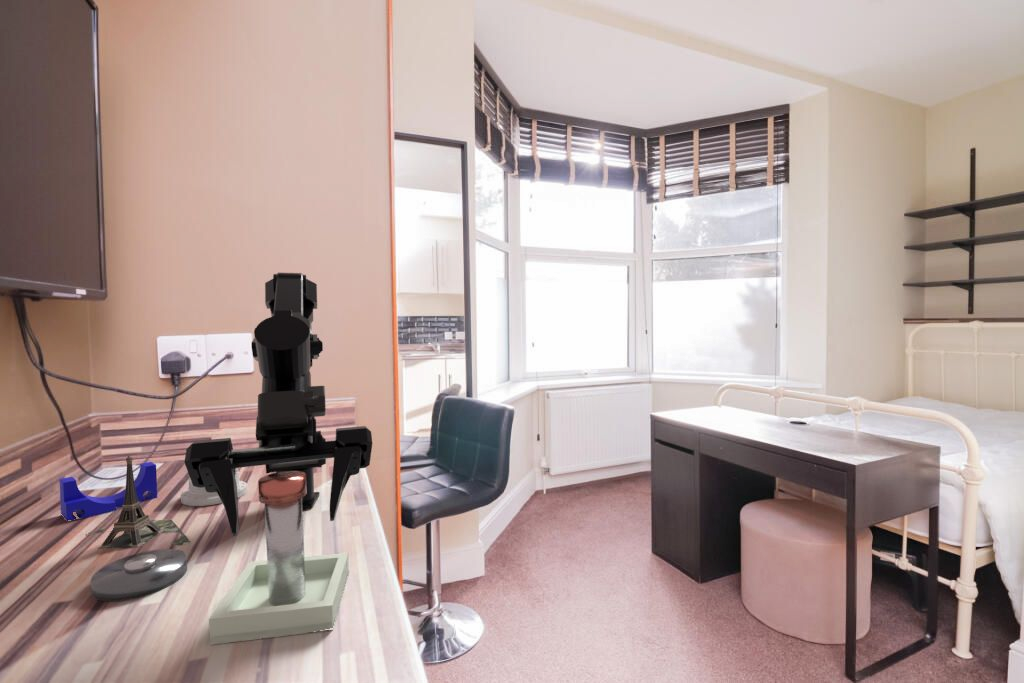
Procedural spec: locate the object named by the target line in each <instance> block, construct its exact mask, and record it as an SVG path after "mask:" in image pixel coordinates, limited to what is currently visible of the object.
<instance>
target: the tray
mask: <svg viewBox="0 0 1024 683" xmlns="http://www.w3.org/2000/svg"><path fill="white" fill-rule="evenodd" d="M304 560H305V584H306V594H305V596H304V597H303V598H302V599H301V600H299V601H298V602H296V603H293V604H289V605H280V606H273V605H271V604H270V603H269V589H268V567H267V559H266V560H260V561H259V560H258V561H249V562H248V563H247V565H246V566H245V568H244V569H243V571H242V572H241V573H240V575H239V576H238V578H237V579H236V580H235V582H234V583H233V585H232V586H231V587H230V589H229V590H228V592H227V593H226V595H224V597H223V598H222V600H221V602H219V604H218V606H217V607H216V608H215V610H214V612H213V613H212V614H211V616H210V617H209V618H208V622H209V623H208V626H209V627H208V628H209V630H208V631H209V645H210V646H213V645H221V644H229V643H236V642H246V641H253V640H254V641H255V640H262V638H263V639H269V638H271V639H272V638H279V637H287V636H294V635H301V634H302V635H303V634H304V635H305V634H309V633H308V632H313V633H315V632H314V631H320V630H325V629H330V628H333V626H334V627H335V624H334V622H335V623H336V620H335V618H336V619H337V617H336V615H337V616H338V613H339V610H338V608H339V609H340V606H339V605H341V603H340V602H342V599H341V598H343V596H342V595H344V592H343V591H345V588H344V587H346V585H345V584H347V581H348V578H347V576H348V577H349V574H350V570H349V569H350V568H349V566H350V565H349V563H350V562H349V552H344V553H333V554H325V555H324V554H323V555H312V556H311V555H310V556H304ZM348 573H349V574H348ZM346 580H347V581H346ZM337 612H338V613H337ZM333 629H334V628H333Z"/></svg>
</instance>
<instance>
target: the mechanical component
mask: <svg viewBox="0 0 1024 683" xmlns="http://www.w3.org/2000/svg"><path fill="white" fill-rule="evenodd" d="M235 480H236V484H237V495H238V498H240V497H242V496H244V495H246V493H247V491H248V484H247V482H245V481H243V480H240V471H239V468H236V470H235ZM180 502H181V504H182V505H184V506H190V507H205V506H212V505H218V504H223V503H222V501H221V499H220V497H219V495H218V493H217V492H213V493H210V492H207V491H206V490H205V487H202V488H199V487H195V486H193V484H192V481H191V479H190V476H189V477H188V488H187V489H185V490H183V491H182V492H181V493H180Z"/></svg>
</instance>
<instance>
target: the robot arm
mask: <svg viewBox="0 0 1024 683" xmlns="http://www.w3.org/2000/svg"><path fill="white" fill-rule="evenodd" d="M272 277H273V278H271V279H270V280H268V281H265V282H264V294H265V296H264V299H265V300H264V303H265V306H266V308H267V309H268V310H270V314H271V316H270V317H267V318H265V319H263V320H262V321H261V322H260V323H258V324H257V325H256V327H255V328H254V331H253V334H254V338H253V340H252V341H251V352H252V357H253V359H254V360H255V361H256V362H257V363H258V369H259V373H260V375H261V377H262V379H261V380H262V382H261V393H259V394H258V395H257V416H256V421H255V424H256V425H255V440H256V442H257V441H258V446H257V447H248V448H247V447H246V448H238V449H234V448H233V443H232V439H231V437H226V438H225V437H224V438H215V439H214V438H212V439H202V440H194V441H193V442H192V443H191V444H190V445H189V446H188V447H187V448H186V449H185V457H184V463H183V464H184V465H185V468H186V470H187V473H188V476H189V477H190V479H191V481H192V484H193V486H195V487H199V488H202V487H205V490H206V491H207V492H210V493H213V492H217V493H218V495H219V497H220V499H221V501H222V503H221V504H222V505H223V507H224V510H225V513H226V517H227V519H228V523H229V527H230V531H231V535H232V537H238V533H239V527H240V526H239V525H240V520H239V519H240V518H239V500H238V495H237V484H236V480H235V470H236V469H239V468H247V467H248V468H249V467H257V466H265V473H266V475H268V474H272V473H277V472H283V471H302V472H305V473H306V487H307V494H306V495H305V496H304V497H302V510H303V509H311V508H313V507H314V505H315V504H316V502H317V501H318V499H319V497H320V491H315V484H314V483H315V482H314V481H315V479H314V468H322V466H324V465H326V464H327V459H333V467H332V478H331V486H330V496H329V497H330V498H329V499H330V500H329V521H330V522H334V521H335V519H336V516H337V512H338V508H339V504H340V502H341V499H342V496H343V492H344V490H345V488H346V487H347V484H348V482H349V480H350V478H351V476H355V475H358V474H359V473H360V470H361V469H365V468H367V467H369V466H370V462H371V457H372V450H373V449H372V448H373V438H372V436H373V435H372V431H371V430H370V429H369V428H368V427H367V426H366V425H363V426H352V427H351V426H350V427H340V428H339V427H338V428H335V440H327V439H326V438H325V437H324V436H323V434H322V431H321V430H317V419H316V417H325V416H326V409H327V408H326V407H327V406H326V390H325V389H326V388H325V385H312V375H311V371H310V369H311V368H312V367H313V360H318V358H319V357H320V354H321V353H322V352H323V351H324V347H323V341H322V340H320V337H318V334H316V333H315V334H314V333H313V331H312V324H313V323H314V322H313V321H314V310H316V309H318V286H317V285H318V284H317V283H316V282H314V281H311V280H309V279H308V278H307V274H303V273H301V272H277V273H273V276H272ZM312 333H313V334H312ZM326 440H327V441H326Z"/></svg>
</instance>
